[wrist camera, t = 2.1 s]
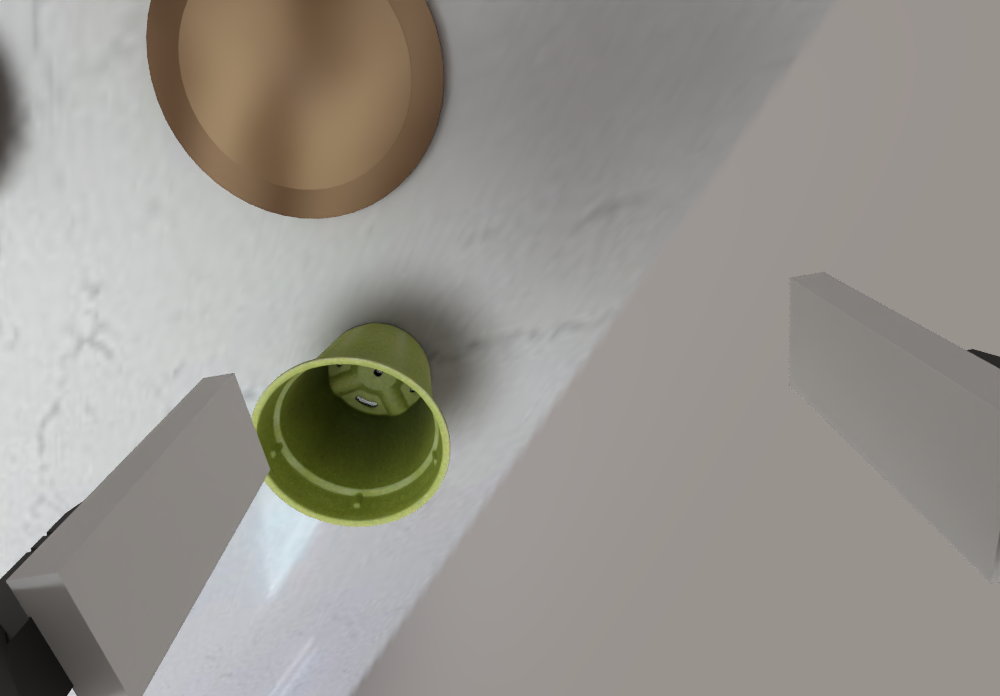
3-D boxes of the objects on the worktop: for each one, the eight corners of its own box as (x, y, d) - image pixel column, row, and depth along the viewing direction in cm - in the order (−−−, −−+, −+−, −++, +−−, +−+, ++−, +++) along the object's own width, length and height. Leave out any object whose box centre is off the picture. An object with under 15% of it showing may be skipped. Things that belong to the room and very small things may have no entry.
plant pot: (428, 455, 40) (414, 549, 32) (282, 410, 38) (229, 497, 30) (479, 327, 37) (478, 396, 29) (322, 272, 35) (274, 329, 27)
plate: (173, 203, 33) (163, 206, 32) (138, -114, 28) (125, -121, 27) (436, 225, 34) (435, 229, 33) (452, -78, 29) (451, -84, 28)
